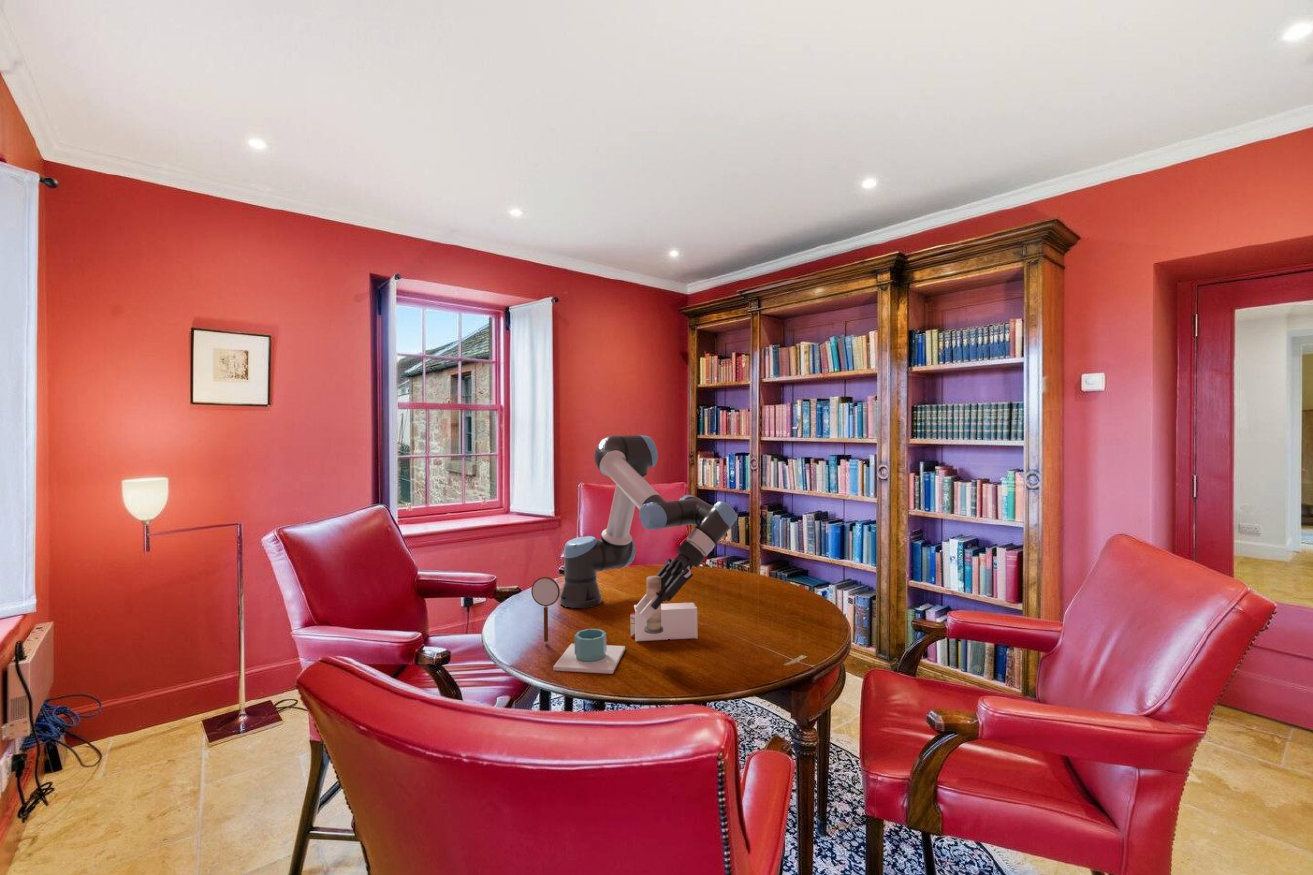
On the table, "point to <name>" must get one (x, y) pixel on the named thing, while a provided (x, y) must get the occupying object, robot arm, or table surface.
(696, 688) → the table surface
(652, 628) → the pillar candle on dish
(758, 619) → the table surface
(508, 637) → the table surface
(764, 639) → the table surface
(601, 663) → the octagonal cup on tile
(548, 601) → the magnifying glass
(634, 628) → the cigarette display
